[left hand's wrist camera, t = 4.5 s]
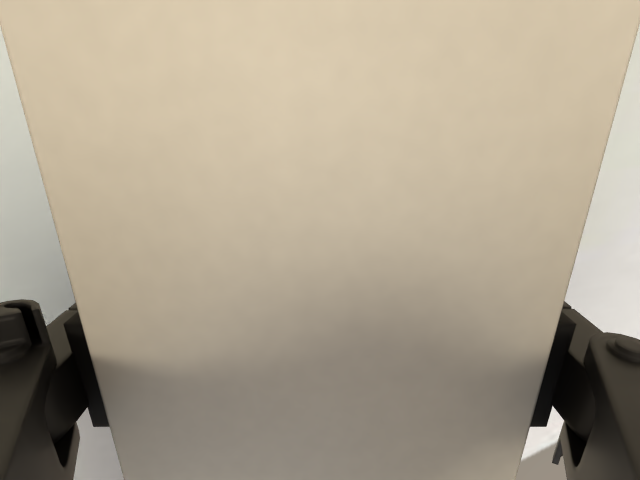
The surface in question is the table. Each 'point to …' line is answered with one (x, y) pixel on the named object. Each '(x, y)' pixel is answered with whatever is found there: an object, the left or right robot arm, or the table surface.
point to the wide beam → (319, 220)
